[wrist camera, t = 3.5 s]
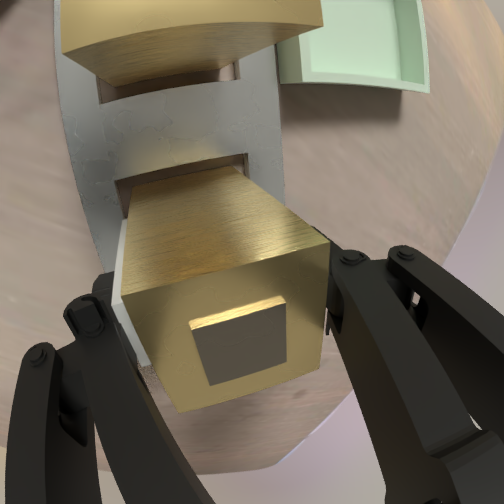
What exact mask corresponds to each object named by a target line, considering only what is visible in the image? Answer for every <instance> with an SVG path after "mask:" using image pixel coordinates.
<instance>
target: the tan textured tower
mask: <svg viewBox="0 0 504 504" xmlns="http://www.w3.org/2000/svg"><path fill="white" fill-rule="evenodd" d="M321 27H324V23H323V15H322V7H321V0H60V31H61V52H62V54H63V55H64V56H66V57H68V58H69V59H71V60H73V61H74V62H76V63H77V64H79V65H81V66H82V67H84V68H85V69H87V70H89V71H90V72H92V73H93V74H95V75H97V76H98V77H100V78H101V79H103V80H104V81H106V82H107V83H109V84H110V85H112V86H113V87H118V86H122V85H126V84H130V83H135V82H139V81H144V80H149V79H154V78H159V77H164V76H170V75H176V74H183V73H190V72H197V71H205V70H214V69H221V68H223V67H225V66H227V65H229V64H231V63H233V62H235V61H237V60H239V59H242V58H244V57H246V56H248V55H250V54H253V53H255V52H257V51H259V50H262V49H264V48H266V47H269V46H271V45H274V44H276V43H279V42H281V41H284V40H286V39H289V38H292V37H295V36H297V35H300V34H303V33H306V32H309V31H312V30H315V29H318V28H321Z"/></svg>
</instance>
